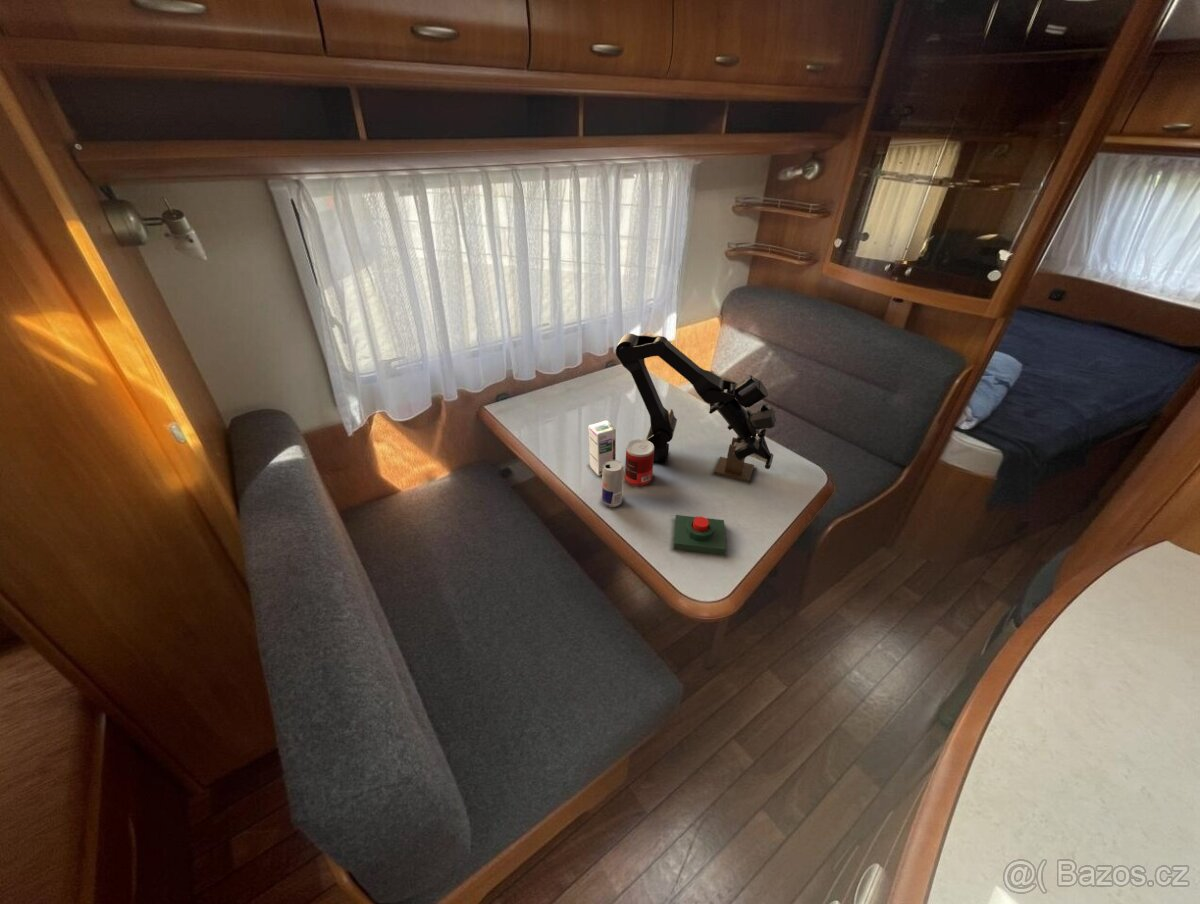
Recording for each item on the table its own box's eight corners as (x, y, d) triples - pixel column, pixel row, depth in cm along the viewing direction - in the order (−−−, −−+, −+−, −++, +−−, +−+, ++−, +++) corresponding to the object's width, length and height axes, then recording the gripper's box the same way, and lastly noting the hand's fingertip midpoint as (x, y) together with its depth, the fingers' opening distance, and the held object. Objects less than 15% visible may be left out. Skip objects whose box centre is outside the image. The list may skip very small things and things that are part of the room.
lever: (771, 459, 136) (775, 453, 134) (768, 471, 131) (771, 464, 130) (734, 444, 138) (736, 438, 137) (729, 455, 134) (732, 449, 132)
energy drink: (601, 495, 131) (601, 459, 124) (620, 494, 131) (621, 458, 124) (603, 508, 126) (603, 472, 119) (623, 507, 127) (624, 471, 120)
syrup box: (598, 476, 137) (598, 434, 129) (589, 465, 142) (588, 424, 133) (615, 471, 140) (616, 429, 131) (606, 460, 144) (606, 419, 136)
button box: (673, 549, 114) (674, 537, 112) (674, 521, 122) (676, 509, 120) (724, 555, 113) (726, 543, 110) (722, 526, 121) (725, 514, 118)
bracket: (753, 468, 141) (759, 440, 135) (748, 483, 135) (754, 455, 129) (719, 459, 144) (724, 432, 139) (713, 474, 138) (718, 446, 133)
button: (692, 531, 114) (693, 525, 113) (692, 521, 117) (693, 515, 116) (708, 533, 114) (709, 527, 113) (707, 522, 117) (708, 517, 116)
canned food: (654, 473, 139) (657, 441, 133) (648, 489, 133) (650, 457, 126) (629, 467, 141) (630, 436, 135) (621, 484, 135) (622, 452, 128)
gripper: (754, 417, 118) (791, 464, 120) (766, 386, 131) (799, 428, 134) (718, 437, 125) (754, 481, 127) (733, 405, 139) (765, 445, 141)
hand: (769, 458), depth 132 cm, fingers closed, pressing on bracket
